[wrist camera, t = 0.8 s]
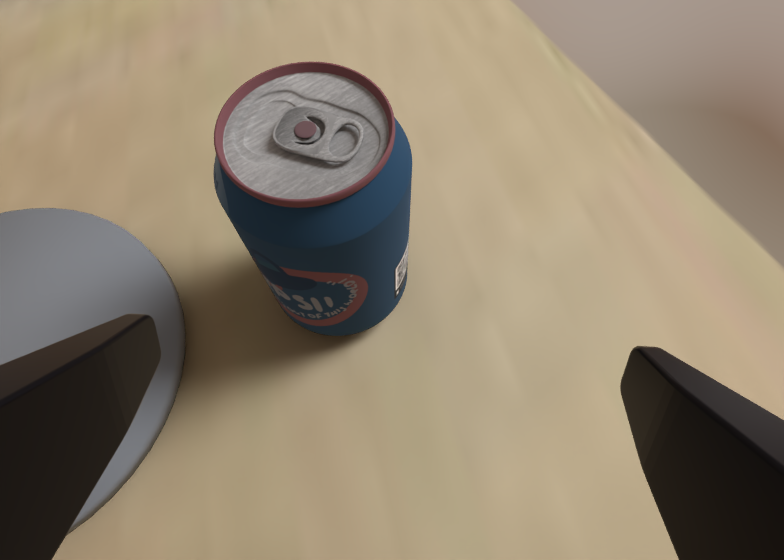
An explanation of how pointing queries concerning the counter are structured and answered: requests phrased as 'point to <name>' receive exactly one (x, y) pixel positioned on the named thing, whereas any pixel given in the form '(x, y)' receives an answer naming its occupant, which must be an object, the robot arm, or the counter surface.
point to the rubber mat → (89, 310)
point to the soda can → (318, 192)
